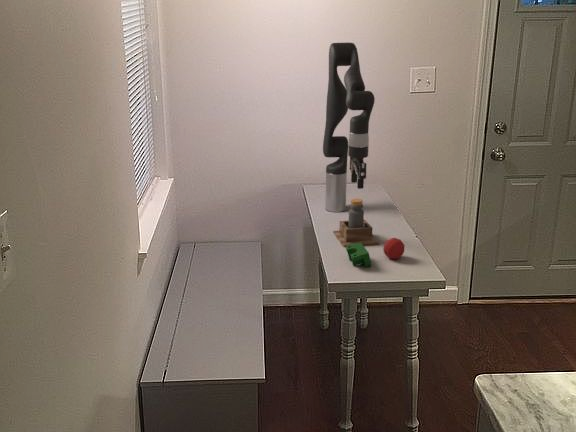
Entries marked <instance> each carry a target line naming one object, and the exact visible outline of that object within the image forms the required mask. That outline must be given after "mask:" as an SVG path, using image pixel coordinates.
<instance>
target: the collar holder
mask: <svg viewBox="0 0 576 432" xmlns="http://www.w3.org/2000/svg"><path fill="white" fill-rule="evenodd" d="M348 224H349V220H339V229H338V230H333V231H332V232H333V233H334V234H333V233H332V234H333V235H334V236H335V237H336V239H337V240H338V242H339V243H340V244H341V246H342V247H343V248H346V246H348V245H352V244H355V243H358V242H361V243H362V245H363V246H364V247H366V246H379V244H380V243H379V241H378V240H377V239H376V238H375V236H374V235H373V227H372V226H371V224H370V223H368V222H367V220H366V219H364V221H363V228H348Z"/></svg>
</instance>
